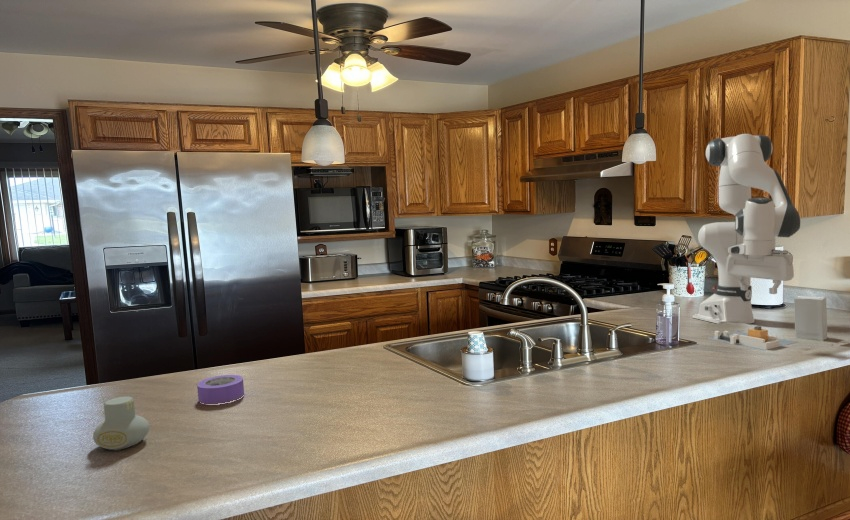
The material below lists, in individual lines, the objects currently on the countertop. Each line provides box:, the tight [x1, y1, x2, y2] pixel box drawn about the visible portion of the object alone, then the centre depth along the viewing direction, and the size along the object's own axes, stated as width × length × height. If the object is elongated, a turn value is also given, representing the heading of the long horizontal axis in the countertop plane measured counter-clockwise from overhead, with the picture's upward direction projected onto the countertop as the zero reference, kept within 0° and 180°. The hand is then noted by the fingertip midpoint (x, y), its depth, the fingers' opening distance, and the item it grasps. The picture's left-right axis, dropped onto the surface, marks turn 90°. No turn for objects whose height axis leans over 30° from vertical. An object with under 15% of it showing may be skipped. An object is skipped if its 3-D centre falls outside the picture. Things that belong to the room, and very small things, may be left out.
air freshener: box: [92, 396, 150, 451], centre depth 127 cm, size 11×8×10 cm
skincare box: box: [793, 295, 828, 342], centre depth 193 cm, size 8×6×15 cm
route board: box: [706, 330, 798, 351], centre depth 193 cm, size 20×18×4 cm
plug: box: [747, 325, 769, 342], centre depth 187 cm, size 4×4×6 cm
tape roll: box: [196, 374, 245, 404], centre depth 157 cm, size 12×12×5 cm
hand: (758, 292), depth 186 cm, fingers open, 8 cm apart
